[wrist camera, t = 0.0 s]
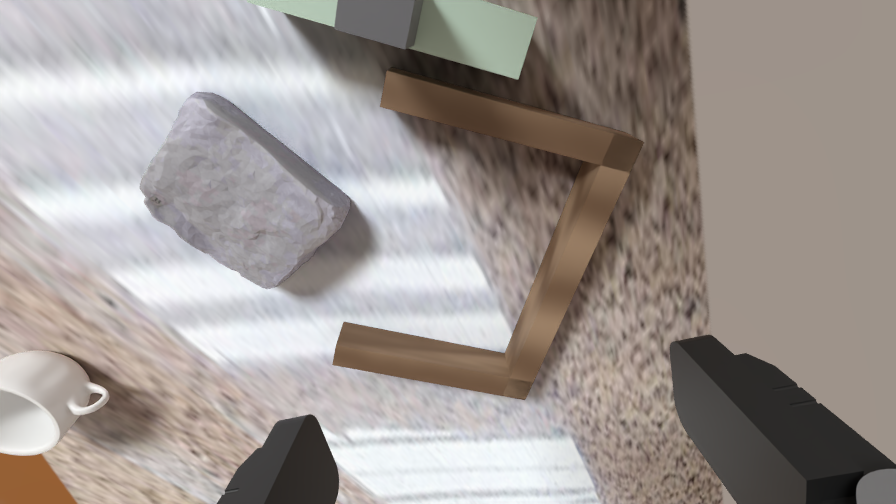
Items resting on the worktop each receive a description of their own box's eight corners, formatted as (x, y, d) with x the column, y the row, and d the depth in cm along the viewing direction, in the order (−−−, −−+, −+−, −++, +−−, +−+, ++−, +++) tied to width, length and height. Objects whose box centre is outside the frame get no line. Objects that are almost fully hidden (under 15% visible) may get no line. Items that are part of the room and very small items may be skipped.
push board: (280, 7, 26) (166, -12, 15) (285, -52, 24) (164, -121, 13) (505, 72, 27) (548, 96, 17) (520, 20, 26) (578, 10, 15)
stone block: (298, 271, 36) (366, 194, 31) (270, 309, 32) (343, 229, 27) (165, 176, 32) (217, 73, 27) (115, 206, 28) (166, 92, 23)
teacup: (30, 404, 39) (-27, 456, 34) (-7, 336, 36) (-77, 383, 31) (143, 405, 39) (102, 456, 35) (117, 337, 36) (67, 384, 31)
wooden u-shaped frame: (391, 67, 27) (386, 71, 24) (625, 132, 29) (644, 142, 26) (340, 340, 36) (332, 364, 34) (519, 374, 39) (525, 400, 36)
